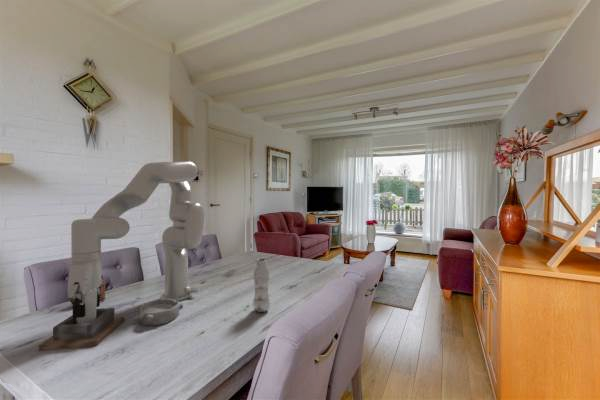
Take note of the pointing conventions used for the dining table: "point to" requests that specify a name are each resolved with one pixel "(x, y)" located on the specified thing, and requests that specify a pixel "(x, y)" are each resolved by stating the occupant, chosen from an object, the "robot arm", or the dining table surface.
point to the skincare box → (89, 307)
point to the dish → (159, 311)
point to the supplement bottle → (102, 290)
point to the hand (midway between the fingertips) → (86, 311)
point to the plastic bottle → (261, 286)
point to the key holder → (83, 331)
